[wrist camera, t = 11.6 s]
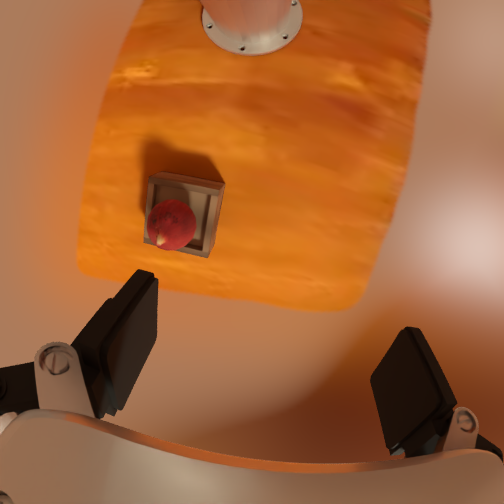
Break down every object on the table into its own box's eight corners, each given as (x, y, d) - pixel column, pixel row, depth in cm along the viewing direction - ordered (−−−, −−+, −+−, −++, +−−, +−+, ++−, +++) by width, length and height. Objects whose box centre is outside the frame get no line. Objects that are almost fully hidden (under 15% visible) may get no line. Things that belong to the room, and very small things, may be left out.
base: (161, 171, 36) (148, 176, 32) (225, 183, 36) (219, 190, 32) (155, 231, 40) (143, 242, 36) (213, 245, 40) (207, 258, 36)
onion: (152, 203, 34) (123, 227, 27) (189, 184, 33) (166, 204, 26) (173, 241, 37) (151, 271, 30) (210, 225, 35) (194, 254, 28)
